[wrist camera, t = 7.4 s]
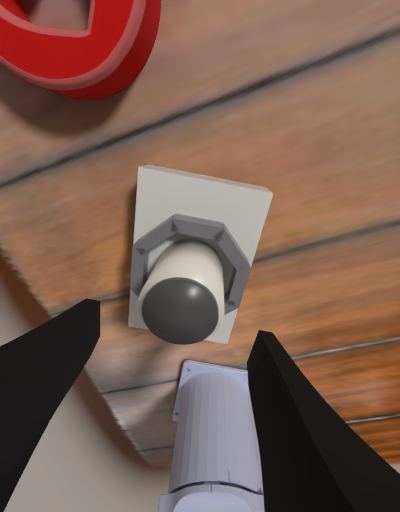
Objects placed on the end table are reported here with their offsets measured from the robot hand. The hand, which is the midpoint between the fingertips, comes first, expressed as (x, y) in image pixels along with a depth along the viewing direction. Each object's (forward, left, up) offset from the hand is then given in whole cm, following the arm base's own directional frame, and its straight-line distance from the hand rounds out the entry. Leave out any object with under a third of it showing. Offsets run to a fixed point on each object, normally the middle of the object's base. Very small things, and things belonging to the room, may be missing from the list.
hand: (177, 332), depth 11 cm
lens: (0, 0, -6) cm, 6 cm away
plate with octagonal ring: (0, 0, -9) cm, 9 cm away
